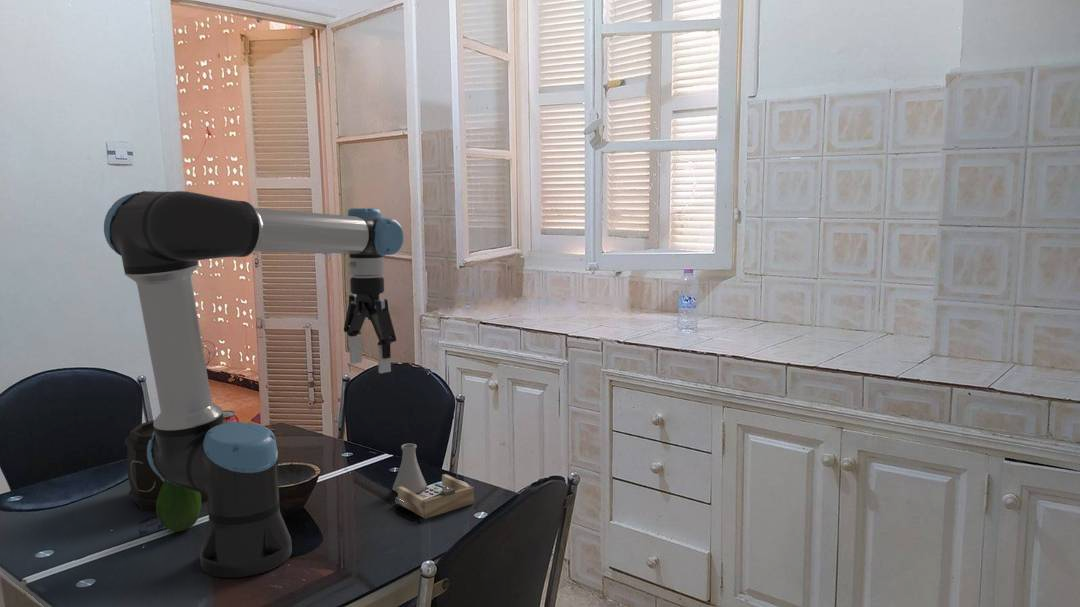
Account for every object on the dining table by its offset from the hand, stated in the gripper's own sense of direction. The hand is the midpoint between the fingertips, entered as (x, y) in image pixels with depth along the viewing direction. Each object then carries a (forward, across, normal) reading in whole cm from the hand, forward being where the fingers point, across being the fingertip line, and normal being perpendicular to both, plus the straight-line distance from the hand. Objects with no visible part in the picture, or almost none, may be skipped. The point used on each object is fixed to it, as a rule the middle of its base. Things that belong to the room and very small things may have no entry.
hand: (370, 367), depth 175 cm
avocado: (+25, +5, -44) cm, 51 cm away
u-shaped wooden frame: (+25, +26, 0) cm, 36 cm away
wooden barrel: (+25, -13, -39) cm, 49 cm away
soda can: (+25, -30, -24) cm, 46 cm away
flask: (+25, +16, 0) cm, 30 cm away
